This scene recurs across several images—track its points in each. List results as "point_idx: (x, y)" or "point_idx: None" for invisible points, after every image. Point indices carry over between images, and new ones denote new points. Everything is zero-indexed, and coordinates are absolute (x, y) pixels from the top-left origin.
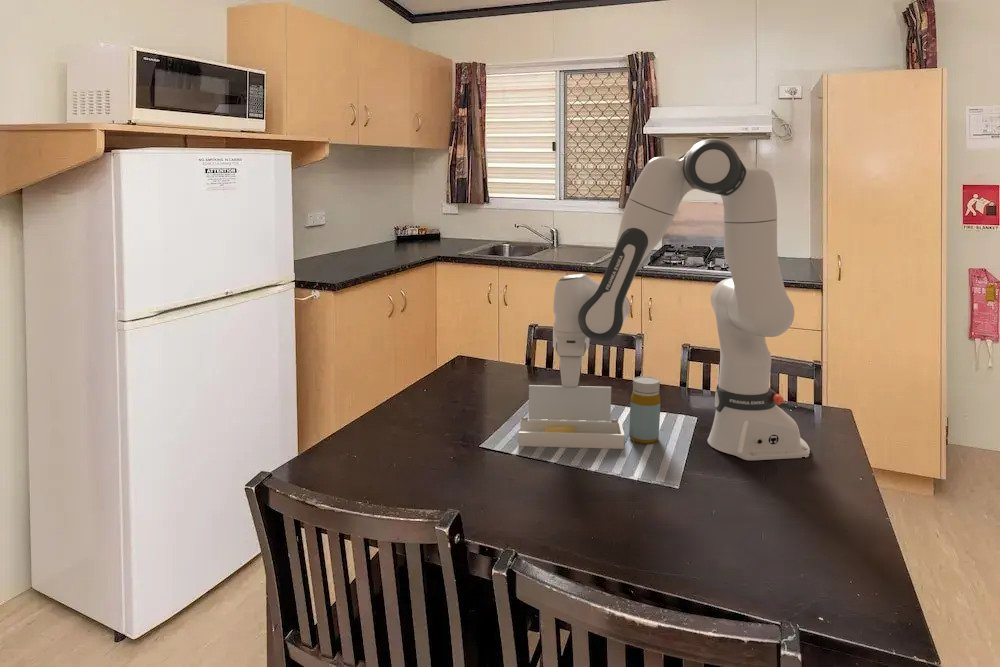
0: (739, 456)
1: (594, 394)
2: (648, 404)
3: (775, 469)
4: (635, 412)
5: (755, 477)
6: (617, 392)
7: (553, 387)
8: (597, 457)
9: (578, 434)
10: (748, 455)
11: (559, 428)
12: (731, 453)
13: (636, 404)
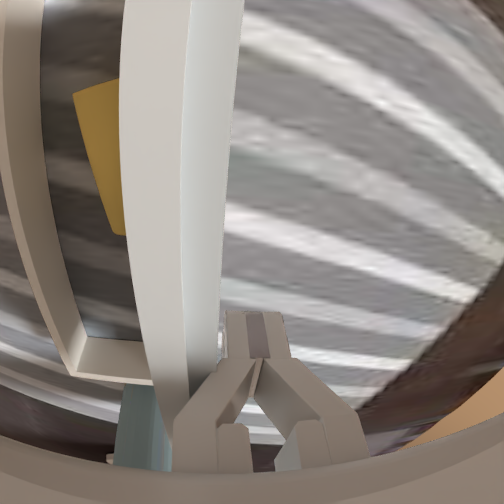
0: (112, 454)
1: None
2: None
3: (92, 460)
4: (121, 450)
5: (56, 442)
6: (492, 338)
7: (130, 251)
8: (2, 272)
9: (20, 251)
10: (108, 461)
11: (97, 161)
12: None
13: None
